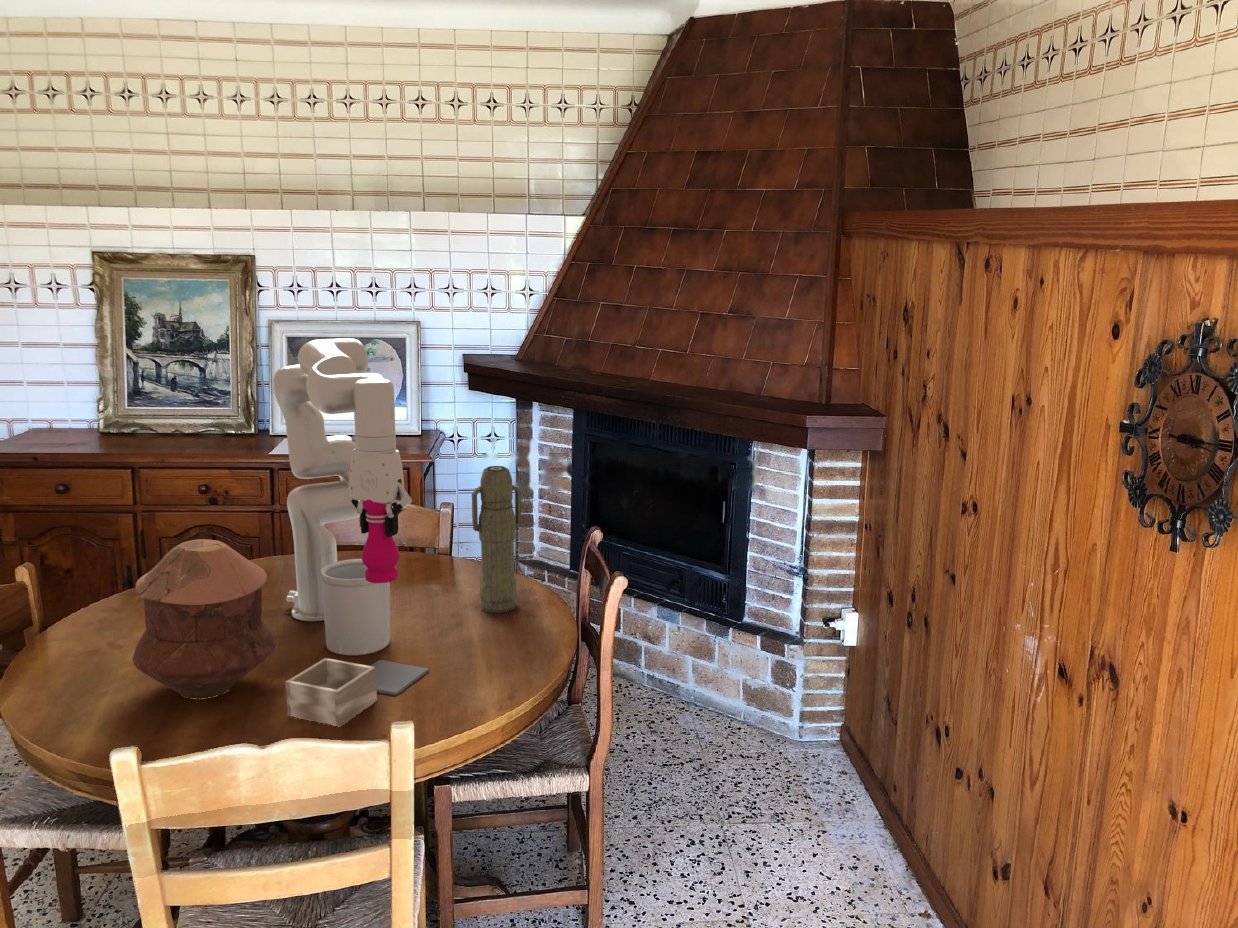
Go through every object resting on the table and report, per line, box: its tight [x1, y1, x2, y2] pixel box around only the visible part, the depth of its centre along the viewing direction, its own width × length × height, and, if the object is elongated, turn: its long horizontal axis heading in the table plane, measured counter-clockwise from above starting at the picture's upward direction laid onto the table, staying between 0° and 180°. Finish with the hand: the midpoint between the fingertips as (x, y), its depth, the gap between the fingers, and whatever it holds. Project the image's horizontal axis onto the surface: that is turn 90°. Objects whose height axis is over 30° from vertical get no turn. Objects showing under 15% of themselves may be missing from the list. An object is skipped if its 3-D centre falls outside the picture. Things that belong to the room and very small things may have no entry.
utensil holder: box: [321, 558, 391, 656], centre depth 209 cm, size 15×15×18 cm
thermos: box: [471, 465, 522, 614], centre depth 230 cm, size 9×12×35 cm
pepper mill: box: [361, 500, 400, 583], centre depth 186 cm, size 7×7×20 cm
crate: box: [285, 657, 378, 728], centre depth 179 cm, size 12×12×7 cm
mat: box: [370, 659, 429, 696], centre depth 193 cm, size 12×12×1 cm
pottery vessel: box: [132, 538, 276, 699], centre depth 184 cm, size 26×26×30 cm
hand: (379, 532), depth 186 cm, fingers closed on pepper mill, 5 cm apart
